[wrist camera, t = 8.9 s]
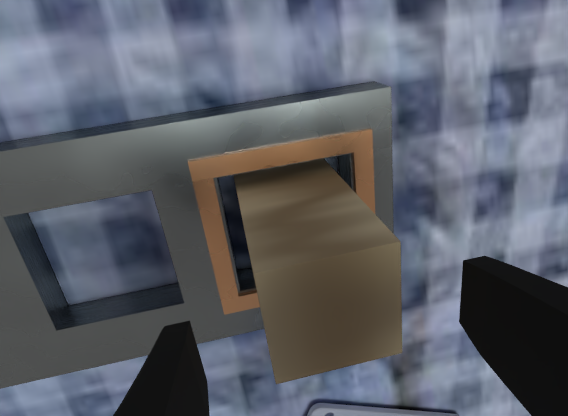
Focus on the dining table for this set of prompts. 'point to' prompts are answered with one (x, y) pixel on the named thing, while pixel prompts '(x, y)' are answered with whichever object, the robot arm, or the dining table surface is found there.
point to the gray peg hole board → (168, 217)
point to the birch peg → (320, 270)
